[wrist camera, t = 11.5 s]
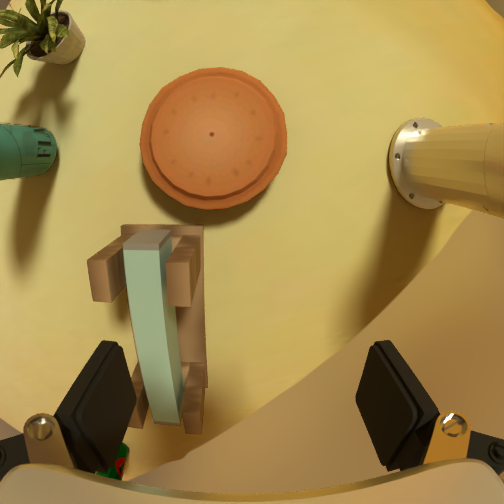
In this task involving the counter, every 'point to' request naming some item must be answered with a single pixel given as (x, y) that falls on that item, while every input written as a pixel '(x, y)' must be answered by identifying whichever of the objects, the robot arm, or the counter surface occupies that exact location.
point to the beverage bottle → (25, 151)
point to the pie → (213, 138)
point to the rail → (154, 323)
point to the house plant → (41, 35)
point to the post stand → (179, 295)
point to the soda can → (117, 464)
